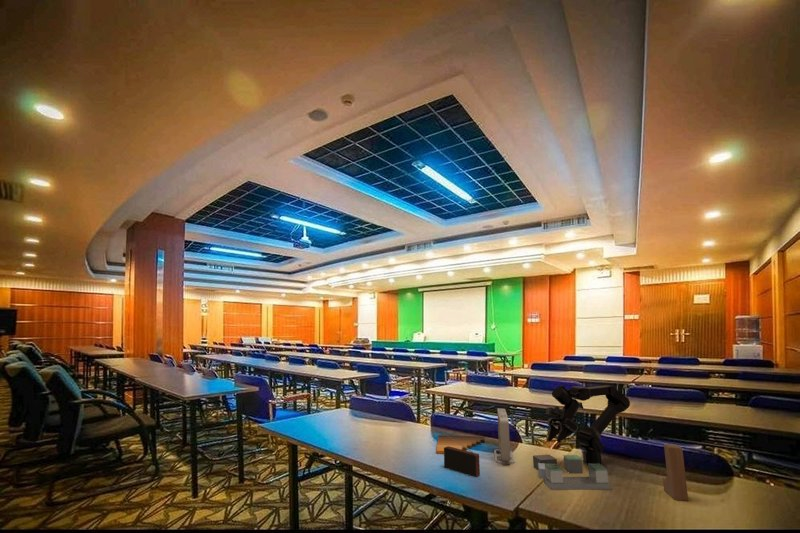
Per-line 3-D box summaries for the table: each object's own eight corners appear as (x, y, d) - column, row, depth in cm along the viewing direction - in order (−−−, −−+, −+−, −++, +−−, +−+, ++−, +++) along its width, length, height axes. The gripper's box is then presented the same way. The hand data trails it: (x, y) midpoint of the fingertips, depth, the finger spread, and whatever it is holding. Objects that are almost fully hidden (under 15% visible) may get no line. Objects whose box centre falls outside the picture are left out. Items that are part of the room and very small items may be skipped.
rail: (601, 481, 153) (599, 463, 154) (610, 489, 146) (609, 469, 147) (544, 482, 153) (543, 463, 154) (550, 489, 146) (549, 469, 147)
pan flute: (484, 442, 208) (438, 440, 211) (484, 435, 209) (438, 434, 212) (488, 457, 184) (436, 455, 187) (488, 450, 184) (436, 447, 187)
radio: (480, 475, 160) (479, 437, 162) (476, 477, 158) (475, 439, 160) (444, 464, 172) (444, 430, 175) (440, 466, 170) (440, 431, 173)
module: (578, 469, 166) (577, 455, 167) (582, 473, 162) (581, 458, 163) (564, 469, 166) (563, 455, 167) (568, 473, 162) (567, 458, 163)
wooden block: (663, 489, 145) (658, 440, 148) (676, 491, 144) (671, 440, 147) (674, 500, 136) (668, 446, 139) (688, 501, 135) (682, 447, 138)
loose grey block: (550, 466, 171) (549, 454, 171) (557, 471, 165) (556, 458, 166) (533, 467, 169) (532, 455, 170) (540, 472, 163) (540, 460, 164)
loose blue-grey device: (551, 474, 162) (550, 463, 162) (552, 480, 155) (552, 469, 156) (538, 472, 163) (538, 462, 164) (539, 478, 156) (539, 468, 157)
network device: (515, 466, 170) (513, 419, 173) (495, 465, 171) (493, 418, 175) (511, 449, 194) (509, 408, 198) (493, 448, 196) (491, 407, 199)
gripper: (545, 400, 183) (529, 429, 178) (562, 398, 166) (545, 429, 161) (565, 415, 181) (550, 444, 176) (585, 415, 164) (569, 447, 159)
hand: (553, 441), depth 168 cm, fingers open, 9 cm apart
